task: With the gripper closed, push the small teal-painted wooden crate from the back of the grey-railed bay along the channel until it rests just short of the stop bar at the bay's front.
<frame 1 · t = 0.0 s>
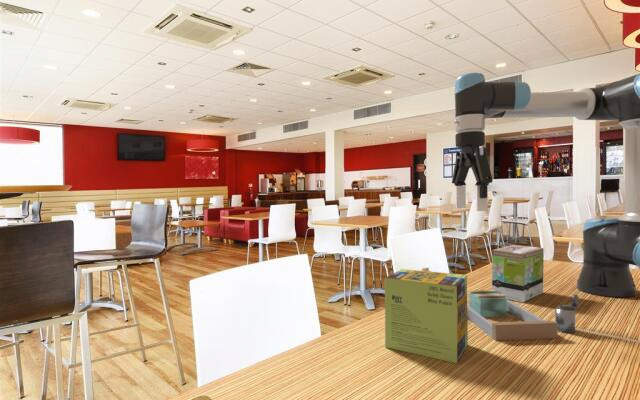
hand: (470, 209, 106), 28 cm above the table, tool pointing down, fingers open, 13 cm apart
teacup with lid: (429, 307, 109), on the table
tea box: (517, 295, 119), on the table
protein box: (427, 347, 83), on the table
bay: (500, 321, 97), on the table
winch drum: (565, 329, 90), on the table
crate: (487, 313, 104), on the table
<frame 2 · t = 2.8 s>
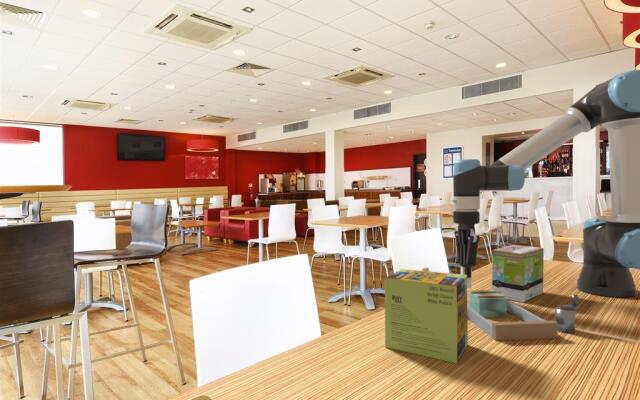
hand: (466, 287, 117), 3 cm above the table, tool pointing down, fingers closed
nothing on the table moved.
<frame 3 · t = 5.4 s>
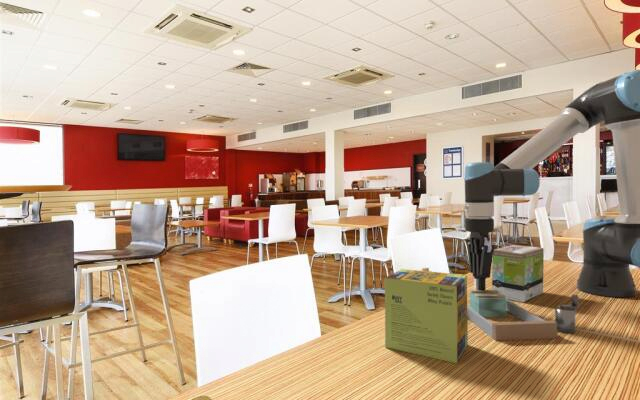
hand: (479, 300, 108), 2 cm above the table, tool pointing down, fingers closed
crate: (487, 312, 104), on the table, touching gripper
everything else where it was.
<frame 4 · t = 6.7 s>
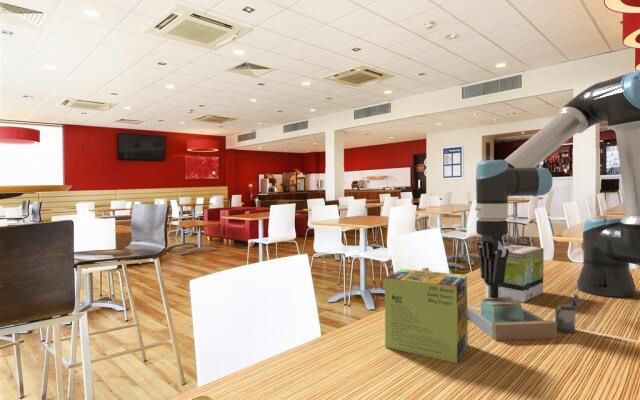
hand: (492, 308, 101), 2 cm above the table, tool pointing down, fingers closed
crate: (501, 322, 97), on the table, touching gripper
everything else where it was.
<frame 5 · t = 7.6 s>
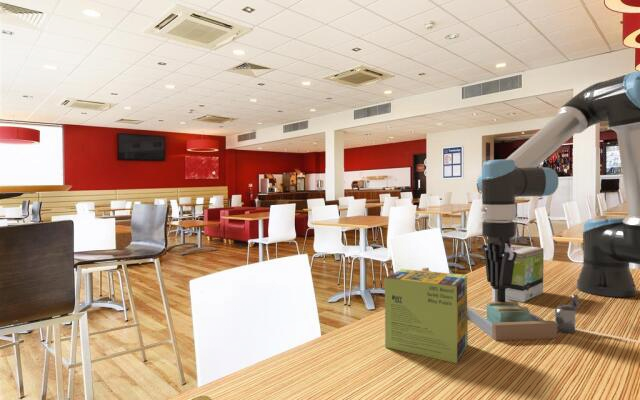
hand: (498, 312, 97), 2 cm above the table, tool pointing down, fingers closed
crate: (507, 327, 93), on the table, touching gripper
everything else where it was.
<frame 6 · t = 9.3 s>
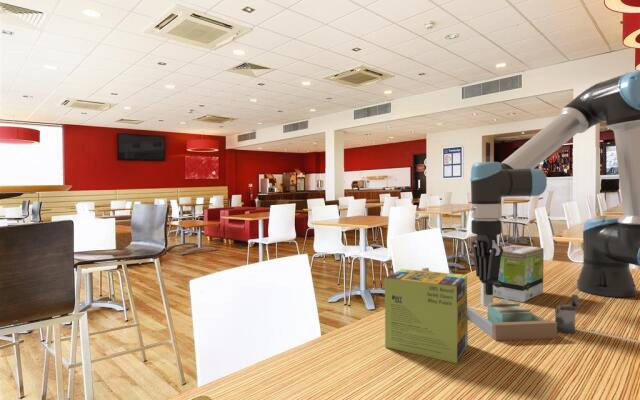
hand: (487, 305, 104), 2 cm above the table, tool pointing down, fingers closed
crate: (508, 328, 92), on the table
everything else where it was.
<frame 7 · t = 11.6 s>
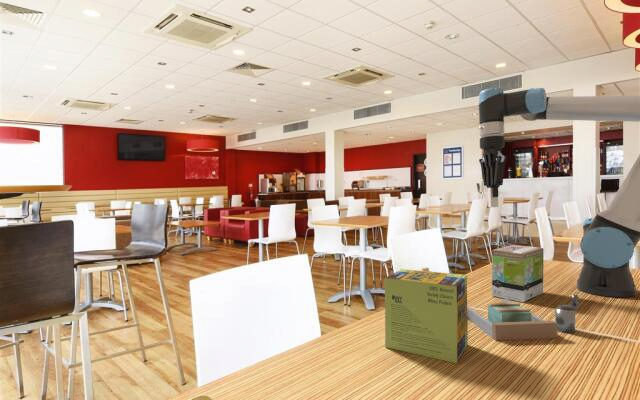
hand: (493, 207, 128), 27 cm above the table, tool pointing down, fingers closed
nothing on the table moved.
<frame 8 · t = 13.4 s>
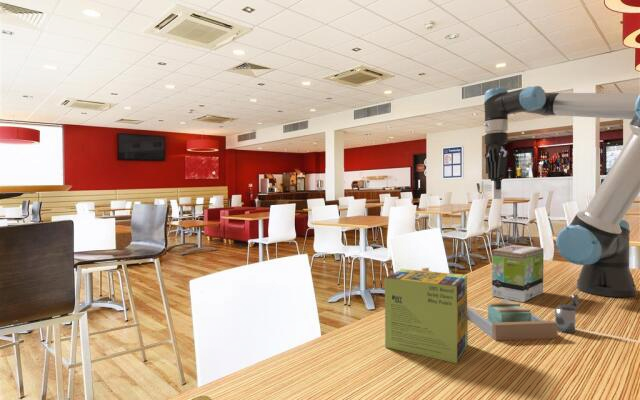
hand: (496, 198, 138), 29 cm above the table, tool pointing down, fingers closed
nothing on the table moved.
at the end: crate inside the target area (0.8 cm from its centre), on the table; crate tilted 0°; crate moved 11.5 cm from its start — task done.
